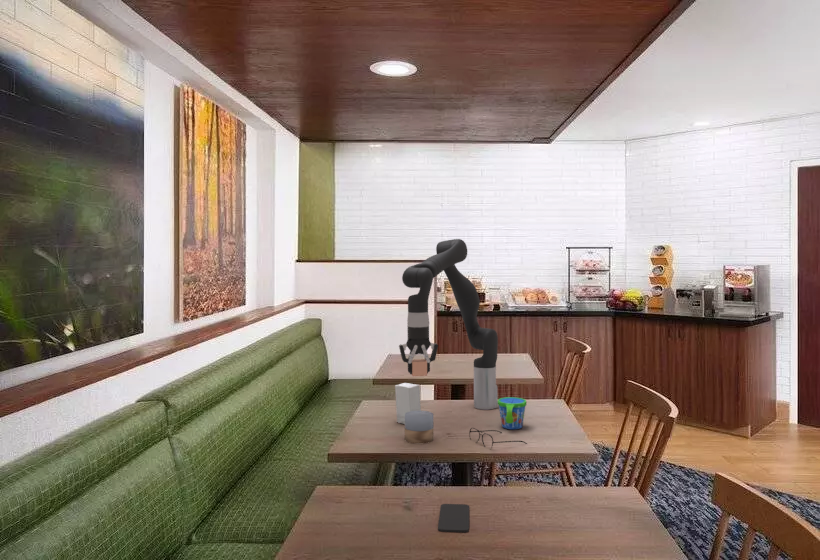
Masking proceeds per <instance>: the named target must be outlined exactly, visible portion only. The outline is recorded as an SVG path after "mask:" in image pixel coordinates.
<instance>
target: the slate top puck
mask: <svg viewBox="0 0 820 560" xmlns="http://www.w3.org/2000/svg"><path fill="white" fill-rule="evenodd" d="M405 428H406V429H407V430H411V431H427V430H431V429H433V430H434V413H433V412H431V411H427V410H421V411H410V412H407V413H405V424H404V429H405Z"/></svg>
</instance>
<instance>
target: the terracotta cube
mask: <svg viewBox="0 0 820 560" xmlns="http://www.w3.org/2000/svg"><path fill="white" fill-rule="evenodd" d="M410 375H411V376H412V377H428V374H427V361H426V360H425V358H417V359H414V358H413V360H412V374H410Z"/></svg>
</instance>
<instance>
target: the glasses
mask: <svg viewBox="0 0 820 560" xmlns="http://www.w3.org/2000/svg"><path fill="white" fill-rule="evenodd" d="M472 429H474V430H472ZM486 432H497V433H498V432H499V433H500V434H503V433H502V431H499V430H496V429H495V430H494V429H491V430H490V429H488V430H479V429H477V428H475V427H471V428H470V430H469V436H471V433H478V434H479V436H478V439H477V440H476V443H478V442H479V441H480V438H481V441H482V445H483V447H484V448H486V445H485V443H484V435H487V436H489V437H490V439H491V441H492V442H491V447H490V449H493V446H494V445H493V444H498V443H499V444H501V443H517V442H520V443H523V444H525V445H528V443H527V442H525V441H523V440H505V441H504V440H503V441H494V438H493V436H492V435H490V434H488V433H486ZM469 440H470V441H472V439H471V437H469Z"/></svg>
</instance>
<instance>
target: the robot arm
mask: <svg viewBox="0 0 820 560" xmlns="http://www.w3.org/2000/svg"><path fill="white" fill-rule="evenodd" d="M435 249H436V250H435V251H436V254H434V255H431V256H430V257H429V256H428V257H427V258H426V259H425V260H423V261H422V262H420V263H416V264H414V265H411V266H409V267H407V268H406V269H405V270H404V271H403V273H402V276H401V280H402V283H403V284H404V286H406V287H407V288H411V289H419V291H418V293H416V294H412V295H409V296H408V298H407V320H406V321H407V341H406V343H404V344H399V345H398V348H399V352H400V356H401V360H402V361H403V363H407V372H408V373H409V374H410V375H411V374H412V360H413V359H414V358H415V355H423V359H425V360H426V361H427V375H428V374H429V373H430V371H431V362H435V361H436V357H437V354H438V348H439V345H438V343H436V342H434V343H432V342H431V340H430V318H429V317H430V316H429V297H430V292H431V289H432V285H433V283H434V278H436V277H437V276H438V275H440V274H441V273H442V272H443V271H444V273H445V276H446V278H447V280H448V283H449V285H450V288H451V290H452V293H453V296H454V300H455V302H456V304H457V307H458V309H459V312H460V314H461V317H462V321H463V323H464V327H465V331H466V336H467V339H468V341H469V344H470V346H471V347H472V348H473V349H475V350H480V351H483V352H482V356H481V357H477V358H475V359H474V360H473V407H474V408H475V409H477V410H493V409H499V405H498V399H499V397H498V385H497V365H496V364H497V360H498V349H499V348H498V347H499V346H498V345H499V336H498V332H497V331H496V330H495V329H494V328H487V327H481V326H480V324H479V321H478V318H477V315H478V312H479V309H480V304H481V302H480V301H481V300H480V296H479V292H478V291H477V288H476V286H475V284H474V283H473V282H472V281H471V280H470V279H469V278H467V277H466V276H465V275H464V274H462V273H461V272H460V270H459V269H458V268H457V266H456V264H458V263H462V262H463V261H465V260H466V258H467V257H468V246H467V244H466V242H465V240H463V239H461V238H454V239H448V240H442V241H439V242H438V243H437V244H436V248H435ZM407 348H408V350H409V353H408V357H407V355H406V353H405V351H406V350H407ZM429 348H431V353H430V356H429V354H428V349H429Z"/></svg>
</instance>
